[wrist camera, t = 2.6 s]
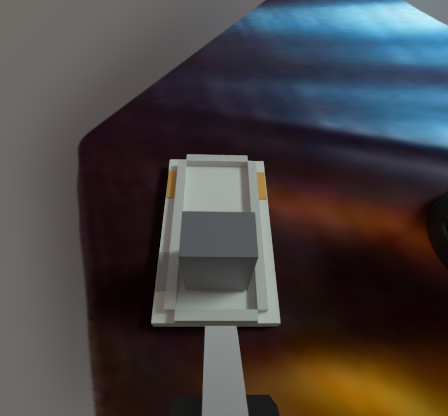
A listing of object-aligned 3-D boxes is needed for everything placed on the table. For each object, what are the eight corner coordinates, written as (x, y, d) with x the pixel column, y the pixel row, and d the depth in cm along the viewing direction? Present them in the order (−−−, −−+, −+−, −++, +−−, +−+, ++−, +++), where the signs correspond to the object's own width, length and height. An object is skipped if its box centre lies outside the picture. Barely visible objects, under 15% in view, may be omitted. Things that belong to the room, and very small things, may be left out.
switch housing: (277, 326, 29) (282, 320, 27) (153, 326, 29) (149, 320, 27) (261, 168, 40) (264, 156, 38) (171, 167, 40) (169, 153, 38)
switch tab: (247, 290, 29) (258, 257, 23) (185, 290, 29) (178, 256, 23) (245, 252, 32) (255, 212, 25) (187, 252, 31) (182, 211, 25)
